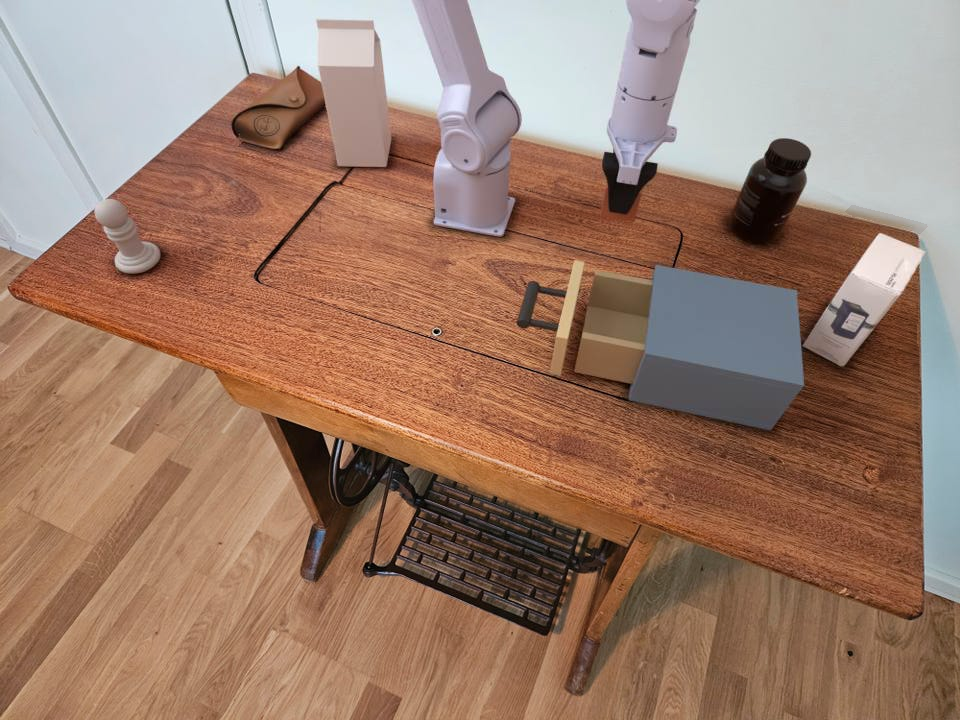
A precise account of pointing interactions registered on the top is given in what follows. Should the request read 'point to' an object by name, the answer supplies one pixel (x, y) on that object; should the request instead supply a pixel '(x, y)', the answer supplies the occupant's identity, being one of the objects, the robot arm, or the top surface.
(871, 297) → the ink box
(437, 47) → the robot arm
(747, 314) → the cabinet
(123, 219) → the chess piece
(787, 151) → the supplement bottle
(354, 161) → the milk carton
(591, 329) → the drawer
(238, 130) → the sunglasses case
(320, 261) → the top surface
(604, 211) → the block
